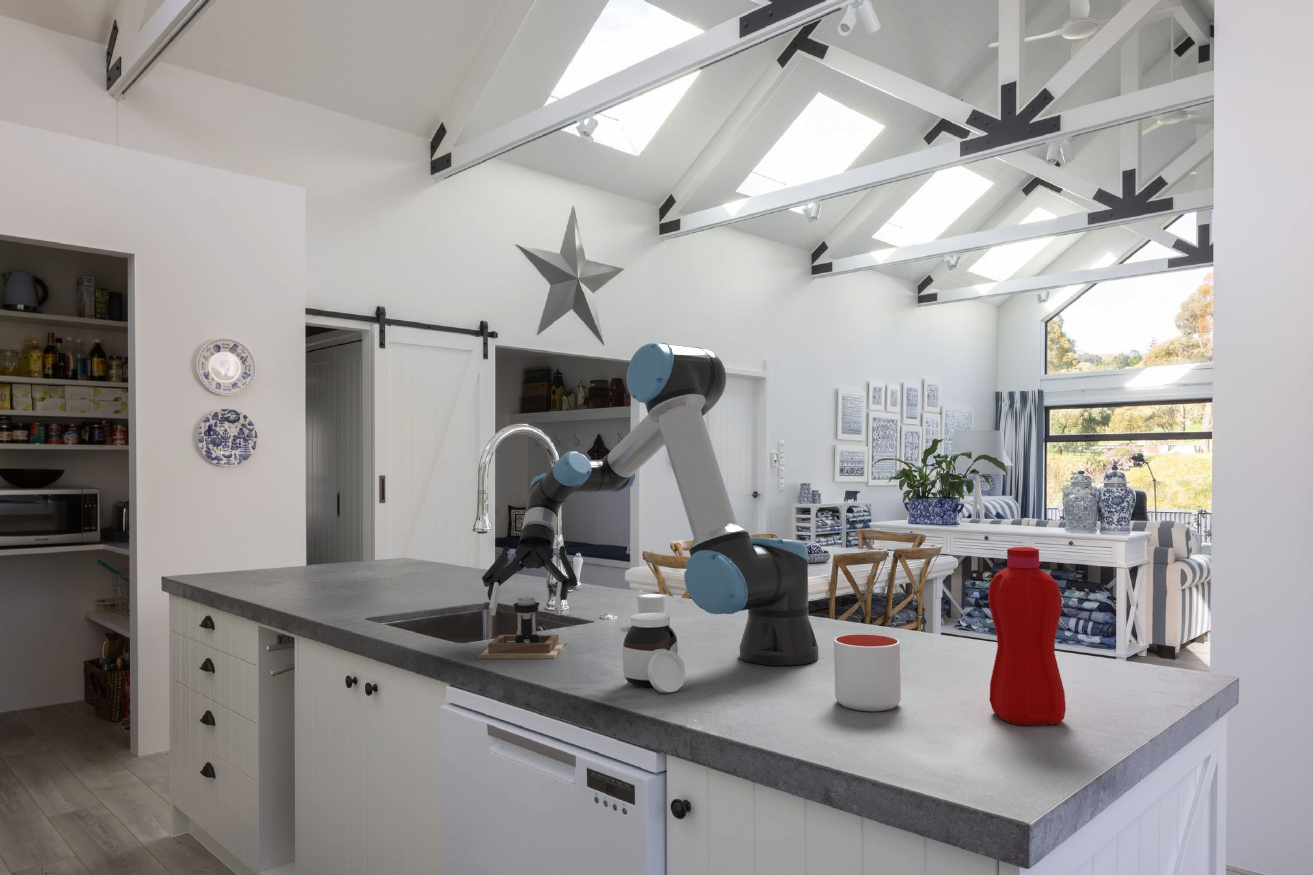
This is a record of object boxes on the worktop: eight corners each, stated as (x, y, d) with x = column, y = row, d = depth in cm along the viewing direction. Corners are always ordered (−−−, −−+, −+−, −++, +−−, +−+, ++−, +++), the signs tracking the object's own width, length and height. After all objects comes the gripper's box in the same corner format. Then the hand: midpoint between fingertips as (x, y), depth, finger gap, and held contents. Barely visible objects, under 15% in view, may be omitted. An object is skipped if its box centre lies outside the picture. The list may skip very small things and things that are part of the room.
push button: (507, 651, 176) (506, 601, 176) (506, 646, 181) (506, 597, 181) (540, 649, 177) (540, 600, 177) (539, 644, 182) (538, 596, 183)
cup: (889, 717, 130) (888, 649, 130) (825, 708, 135) (824, 642, 135) (909, 701, 138) (907, 637, 139) (848, 693, 144) (846, 631, 144)
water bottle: (1038, 705, 135) (1034, 542, 136) (1074, 727, 124) (1069, 549, 125) (979, 706, 135) (975, 543, 135) (1009, 728, 124) (1004, 550, 124)
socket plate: (554, 658, 172) (554, 646, 172) (479, 658, 173) (479, 645, 173) (566, 644, 185) (566, 633, 185) (496, 644, 186) (496, 633, 186)
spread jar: (646, 674, 158) (645, 609, 158) (702, 681, 152) (701, 614, 153) (610, 690, 148) (609, 620, 148) (669, 698, 142) (668, 626, 142)
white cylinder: (666, 627, 202) (666, 597, 203) (636, 628, 202) (636, 597, 203) (666, 622, 209) (666, 592, 209) (637, 622, 209) (637, 593, 209)
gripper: (595, 542, 198) (586, 621, 183) (486, 543, 200) (468, 622, 184) (591, 521, 193) (582, 600, 177) (480, 522, 195) (461, 600, 179)
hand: (524, 611), depth 181 cm, fingers open, 13 cm apart
